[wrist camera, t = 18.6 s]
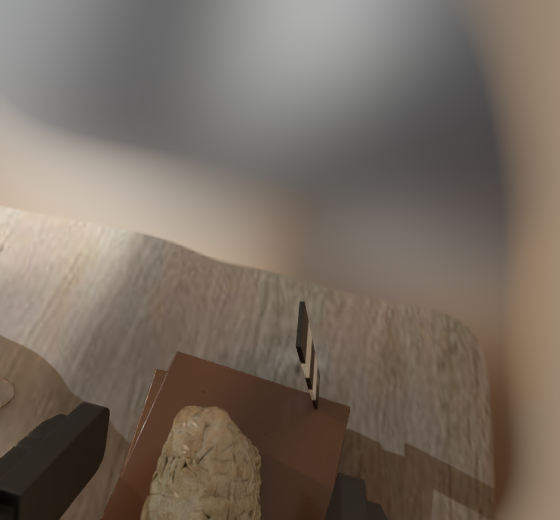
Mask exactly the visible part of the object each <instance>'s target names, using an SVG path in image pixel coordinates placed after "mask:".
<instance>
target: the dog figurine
mask: <svg viewBox="0 0 560 520" xmlns="http://www.w3.org/2000/svg"><path fill="white" fill-rule="evenodd" d="M13 397H14V388H13V386H12V384H11V383H9V382H7V381H5V380H3V379H2V378H1V377H0V407H2V406H4V405H5V404H6V403H8V402H9V401H10V400H11V399H12V398H13Z"/></svg>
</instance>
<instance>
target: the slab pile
mask: <svg viewBox="0 0 560 520" xmlns="http://www.w3.org/2000/svg"><path fill="white" fill-rule="evenodd" d="M186 406H201V407H215V406H217V407H219V408H222V409H224V410H225V411H227V412H228V414H229V416H230V418H231V419H232V420H233V422H235V424H236V425H237V426H238V428H239V429H240V431H241V432H242V433H243V434H244V435H245V436H247V437H248V438H249V439H250V440H251V442H252V444H253V445H254V446H256V448H257V449H258V451H259V454H260V456H261V460H260V461H261V466H260V469H259V470H260V477H261V485H260V488H259V489H260V492H259V498H260V511H261V516H260V520H325V516H326V513H327V509H328V506H329V502H330V499H331V495H332V492H333V489H334V484H335V480H336V475H337V470H338V465H339V460H340V456H341V451H342V446H343V441H344V436H345V432H346V427H347V422H348V417H349V412H350V407H349V406H346V405H343V404H340V403H336V402H333V401H330V400H327V399H324V398H321V397H319V398H318V409H314V406H313V402H312V399H311V396H310V394H308V393H305V392H302V391H299V390H296V389H293V388H290V387H287V386H284V385H281V384H277V383H274V382H271V381H268V380H265V379H262V378H259V377H256V376H253V375H249V374H246V373H243V372H240V371H237V370H234V369H231V368H228V367H225V366H221V365H218V364H215V363H212V362H209V361H206V360H203V359H200V358H197V357H194V356H190V355H187V354H184V353H181V352H176V354H175V356H174V358H173V360H172V363H171V365H170V367H169V369H168V371H163V370H158V369H157V370H155V373H154V376H153V379H152V382H151V385H150V388H149V391H148V394H147V397H146V400H145V403H144V406H143V409H142V412H141V415H140V418H139V421H138V424H137V427H136V430H135V433H134V436H133V439H132V442H131V445H130V448H129V451H128V454H127V457H126V460H125V463H124V466H123V469H122V472H121V475H120V478H119V480H118V482H117V484H116V487H115V489H114V491H113V493H112V495H111V498H110V500H109V502H108V504H107V507H106V509H105V511H104V513H103V515H102V518H101V520H140V518H141V512H142V509H143V505H144V503H145V500H146V498H147V496H148V495H150V483H151V480H152V476H153V473H154V472H155V471H156V469H157V463H158V458H159V457H160V456H161V452H162V448H163V445H164V444H165V443H166V441H167V438H168V436H169V433H170V431H171V429H172V426H173V421H174V418H175V416H176V415H177V414H178V412H179V411H180V410H181V409H182V408H184V407H186Z"/></svg>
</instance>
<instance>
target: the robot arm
mask: <svg viewBox="0 0 560 520" xmlns="http://www.w3.org/2000/svg"><path fill="white" fill-rule="evenodd" d="M109 415H110V411H109V409H108V408H106V407H102V406H99V405H95V404H92V403H88V402H83V403H81V404H80V405H79V406H78V407H77V408H76V409H75V410H73V411H72V412H71V413H70V414H69V415H68V416H66V415H63V414H59V415H57V416H55V417H53V418H50V419H48V420H46V421H44V422H42V423H41V424H40V425H39V426H37V427H36V428H35V429H34V430H33V431H32V432H30V433H29V435H28V437H25V438H24V439H22V440H21V441H20V442H19V443H18V444H17V446H16V447H15V446H14V447H13V448H12V449H11V450H10V451H9V452H7V453H6V454H5V455H4V456H3V457H2V458H1V459H0V520H59V519H60V517H61V516H62V515H63V514H64V512H65V511H66V510H67V508H68V507H69V506H70V505H71V503H72V502H73V501H74V500H75V498H76V497H77V496H78V495H79V493H80V492H81V491H82V489H83V488H84V487H85V486H86V484H87V483H88V482H89V481H90V479H91V478H92V477H93V475H94V474H95V473H96V471H97V470H98V468H99V466H100V464H101V462H102V459H103V456H104V452H105V446H106V438H107V430H108V423H109ZM325 520H388V519H387V517H386V515H385V513H384V511H383V510H382V508H381V506H380V505H379V504H375V503H372V502H368V501H366V489H365V481H364V480H362V479H359V478H355V477H351V476H348V475H344V474H341V473H339V474H338V476H337V478H336V482H335V485H334V489H333V492H332V495H331V499H330V502H329V506H328V509H327V513H326V516H325Z"/></svg>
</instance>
